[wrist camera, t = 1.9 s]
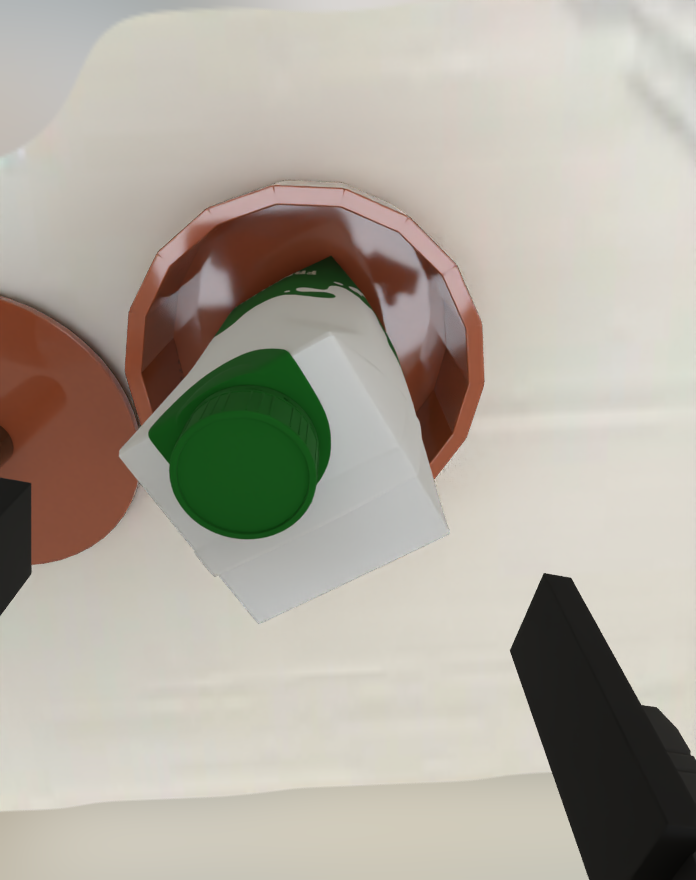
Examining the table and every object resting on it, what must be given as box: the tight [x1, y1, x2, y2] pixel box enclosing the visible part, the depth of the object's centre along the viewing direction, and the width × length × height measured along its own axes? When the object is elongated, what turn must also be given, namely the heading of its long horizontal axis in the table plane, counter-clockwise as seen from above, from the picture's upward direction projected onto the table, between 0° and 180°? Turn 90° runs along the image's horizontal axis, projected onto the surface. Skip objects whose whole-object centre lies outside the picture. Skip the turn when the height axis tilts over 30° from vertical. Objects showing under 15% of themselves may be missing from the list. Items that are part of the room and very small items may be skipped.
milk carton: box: [119, 256, 450, 624], centre depth 26 cm, size 9×9×20 cm
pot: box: [125, 180, 484, 479], centre depth 32 cm, size 17×17×7 cm
